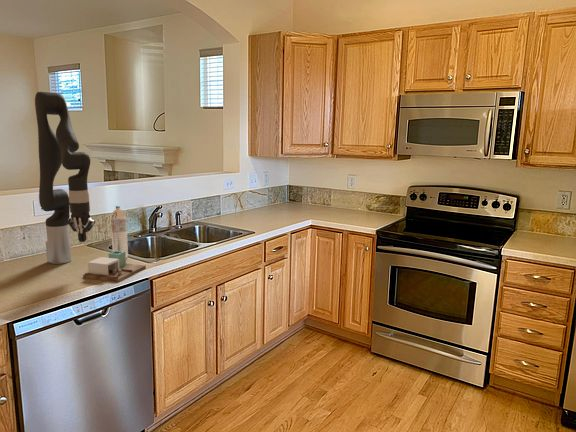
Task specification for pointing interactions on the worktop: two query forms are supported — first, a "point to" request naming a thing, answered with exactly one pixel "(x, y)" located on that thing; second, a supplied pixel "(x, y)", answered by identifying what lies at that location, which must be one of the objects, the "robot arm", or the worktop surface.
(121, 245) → the water bottle
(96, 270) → the white rectangular block
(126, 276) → the board
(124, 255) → the sleeve
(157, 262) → the worktop surface
